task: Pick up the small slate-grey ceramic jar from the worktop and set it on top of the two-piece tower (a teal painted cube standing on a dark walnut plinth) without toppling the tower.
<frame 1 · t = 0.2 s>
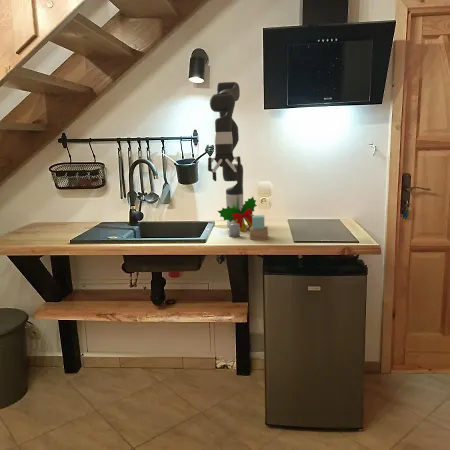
hand: (225, 180, 193), 28 cm above the worktop, tool pointing down, fingers open, 8 cm apart
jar: (234, 236, 215), on the worktop
cube: (258, 227, 209), point 5 cm above the worktop
ornament: (239, 230, 230), on the worktop
plinth: (259, 238, 210), on the worktop
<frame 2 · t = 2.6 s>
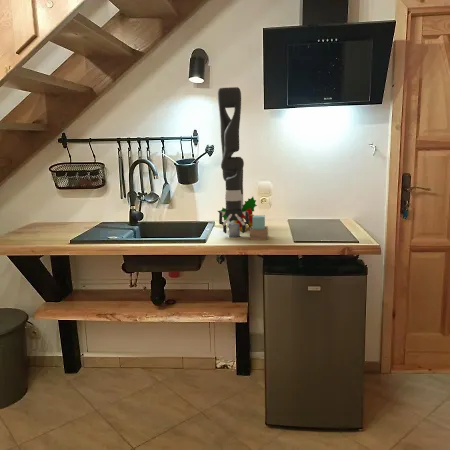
hand: (234, 232, 214), 2 cm above the worktop, tool pointing down, fingers open, 8 cm apart
nothing on the worktop moved.
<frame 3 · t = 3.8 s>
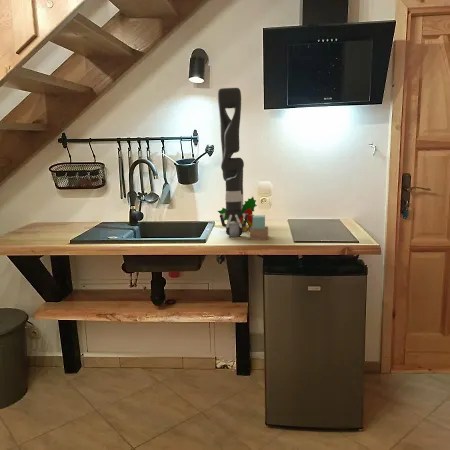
hand: (234, 234, 215), 1 cm above the worktop, tool pointing down, fingers closed on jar, 5 cm apart
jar: (234, 236, 215), on the worktop, touching gripper
cube: (259, 227, 209), point 5 cm above the worktop, touching plinth
plinth: (259, 238, 210), on the worktop, touching cube
everything else where it was.
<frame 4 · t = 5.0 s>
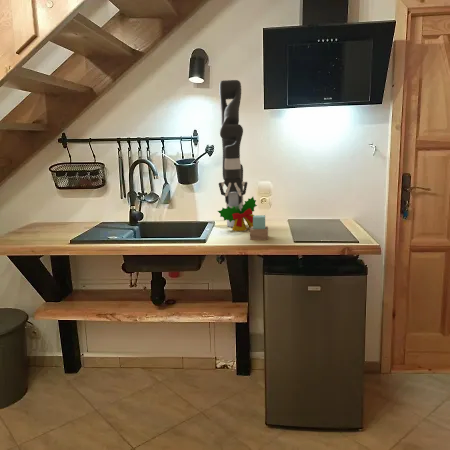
hand: (233, 203, 212), 16 cm above the worktop, tool pointing down, fingers closed on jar, 5 cm apart
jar: (233, 205, 212), point 15 cm above the worktop, touching gripper
everything else where it was.
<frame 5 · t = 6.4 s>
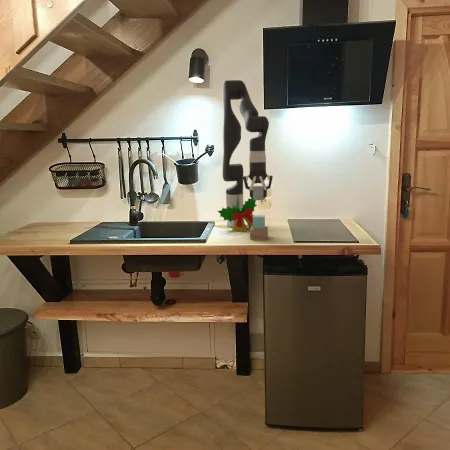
hand: (258, 197, 206), 19 cm above the worktop, tool pointing down, fingers closed on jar, 5 cm apart
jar: (258, 199, 206), point 18 cm above the worktop, touching gripper
cube: (258, 227, 209), point 5 cm above the worktop
plinth: (259, 238, 209), on the worktop
everything else where it was.
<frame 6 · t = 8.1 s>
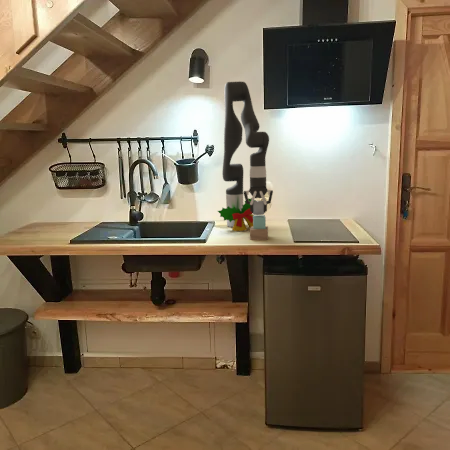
hand: (258, 212, 207), 12 cm above the worktop, tool pointing down, fingers closed on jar, 5 cm apart
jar: (258, 214, 207), point 11 cm above the worktop, touching gripper
cube: (259, 227, 209), point 5 cm above the worktop, touching plinth
plinth: (259, 238, 209), on the worktop, touching cube
everything else where it was.
when the fingers open (12 cm above the worktop, at t = 8.4 s): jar drops 1 cm, resting on cube.
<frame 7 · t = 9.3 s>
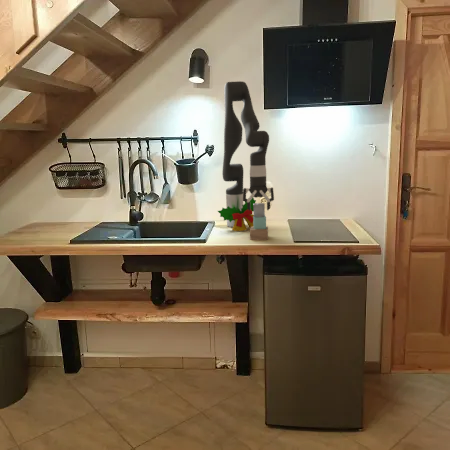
hand: (258, 210, 207), 13 cm above the worktop, tool pointing down, fingers open, 8 cm apart
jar: (259, 216, 208), point 10 cm above the worktop, touching cube
cube: (259, 227, 209), point 5 cm above the worktop, touching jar, plinth
everything else where it was.
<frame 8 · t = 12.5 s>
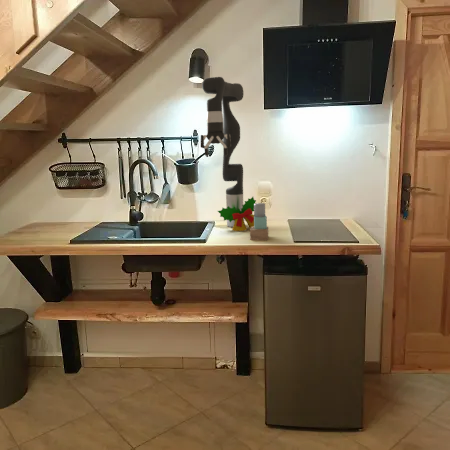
hand: (216, 156, 212), 38 cm above the worktop, tool pointing down, fingers open, 8 cm apart
nothing on the worktop moved.
at the end: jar 0.8 cm off-centre on the plinth, point 10.5 cm above the plinth's base; cube tilted 0°; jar tilted 0° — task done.
